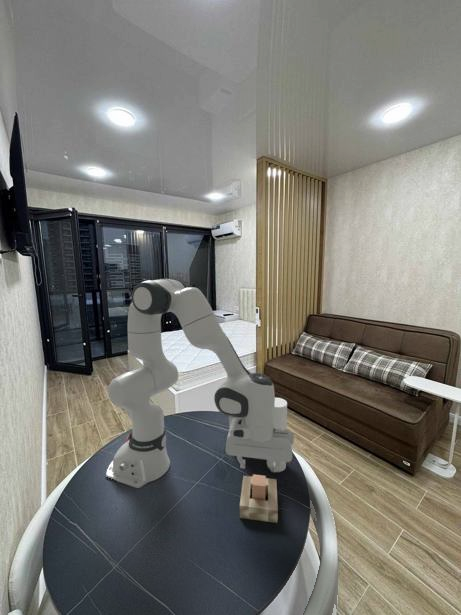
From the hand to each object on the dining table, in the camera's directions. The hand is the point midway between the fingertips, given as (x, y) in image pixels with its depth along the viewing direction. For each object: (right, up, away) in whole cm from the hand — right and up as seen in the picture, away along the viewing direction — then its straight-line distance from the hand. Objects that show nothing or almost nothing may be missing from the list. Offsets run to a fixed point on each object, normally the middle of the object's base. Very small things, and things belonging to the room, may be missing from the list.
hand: (257, 468), depth 75 cm
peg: (0, -12, +1) cm, 12 cm away
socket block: (+1, -12, +1) cm, 12 cm away
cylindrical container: (+9, -10, +17) cm, 21 cm away
